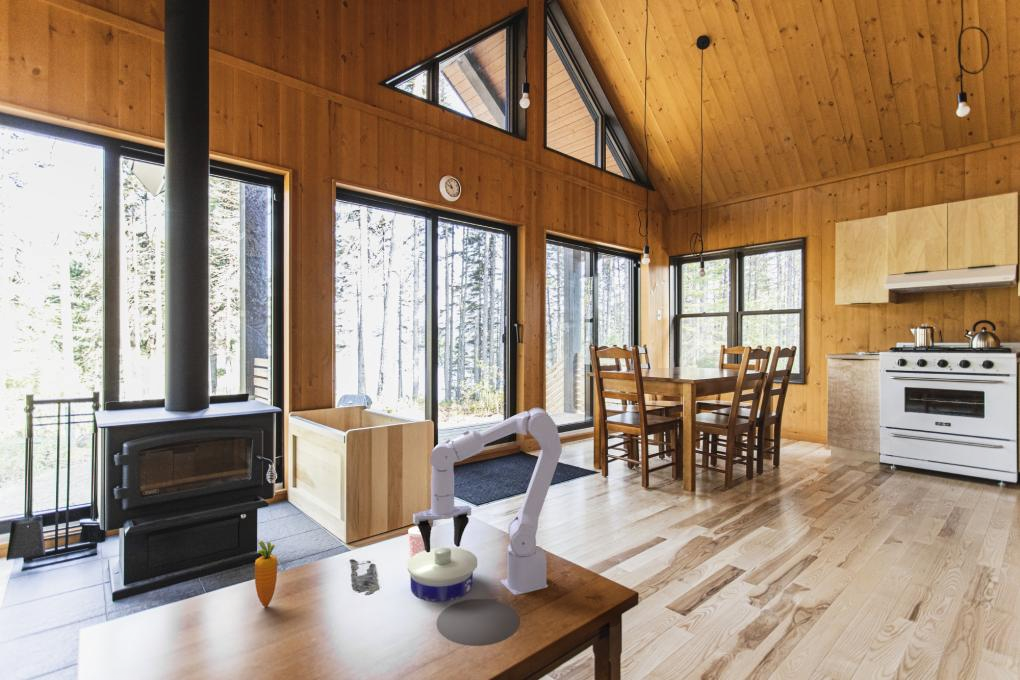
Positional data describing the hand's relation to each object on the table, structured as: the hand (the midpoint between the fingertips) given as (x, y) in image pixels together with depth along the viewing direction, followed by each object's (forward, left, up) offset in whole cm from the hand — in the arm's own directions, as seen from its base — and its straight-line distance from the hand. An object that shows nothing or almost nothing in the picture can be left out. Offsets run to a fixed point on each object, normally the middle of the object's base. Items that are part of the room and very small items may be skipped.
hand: (442, 548), depth 124 cm
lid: (0, 0, -4) cm, 4 cm away
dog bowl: (0, 0, -10) cm, 10 cm away
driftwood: (+16, -14, -10) cm, 24 cm away
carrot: (+39, -9, -10) cm, 41 cm away
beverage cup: (+1, -16, -10) cm, 19 cm away
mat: (-2, +18, -10) cm, 21 cm away
